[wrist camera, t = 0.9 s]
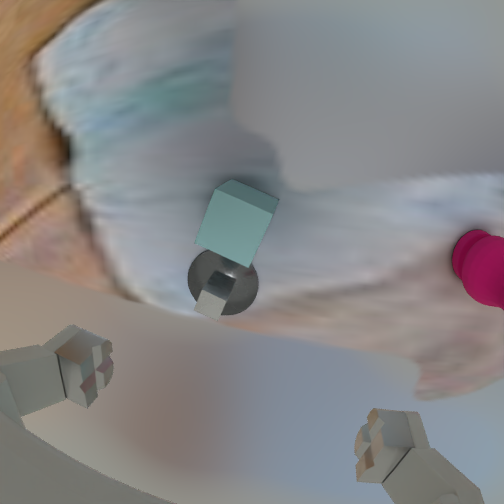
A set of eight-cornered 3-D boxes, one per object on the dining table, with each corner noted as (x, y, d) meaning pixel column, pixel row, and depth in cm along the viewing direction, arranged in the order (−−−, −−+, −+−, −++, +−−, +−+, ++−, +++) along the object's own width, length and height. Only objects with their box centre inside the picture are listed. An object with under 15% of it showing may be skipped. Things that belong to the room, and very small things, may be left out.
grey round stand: (181, 294, 38) (163, 318, 33) (202, 236, 35) (185, 253, 30) (242, 322, 38) (232, 350, 33) (270, 267, 35) (264, 290, 30)
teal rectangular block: (213, 223, 34) (194, 242, 28) (232, 178, 32) (215, 188, 26) (258, 243, 34) (248, 267, 28) (279, 199, 32) (273, 214, 26)
